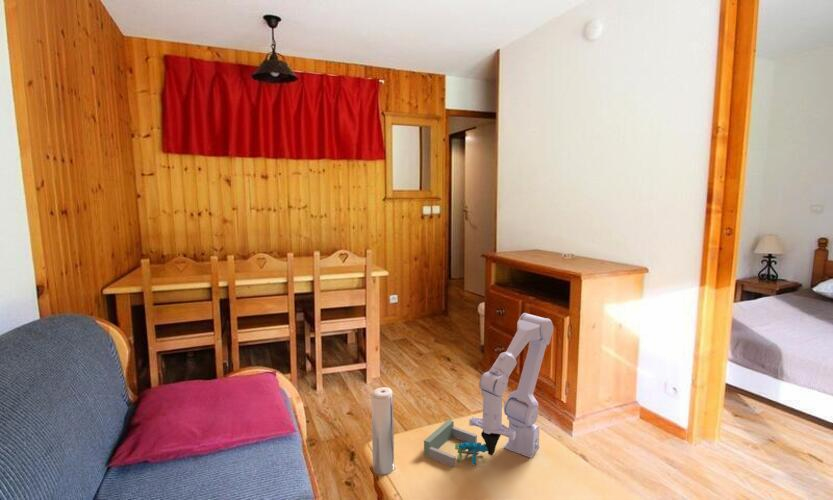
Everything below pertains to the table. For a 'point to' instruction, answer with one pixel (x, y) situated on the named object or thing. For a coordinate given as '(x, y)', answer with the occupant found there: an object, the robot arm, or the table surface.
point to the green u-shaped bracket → (441, 437)
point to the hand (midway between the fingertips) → (491, 453)
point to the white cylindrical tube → (382, 431)
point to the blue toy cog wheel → (470, 449)
